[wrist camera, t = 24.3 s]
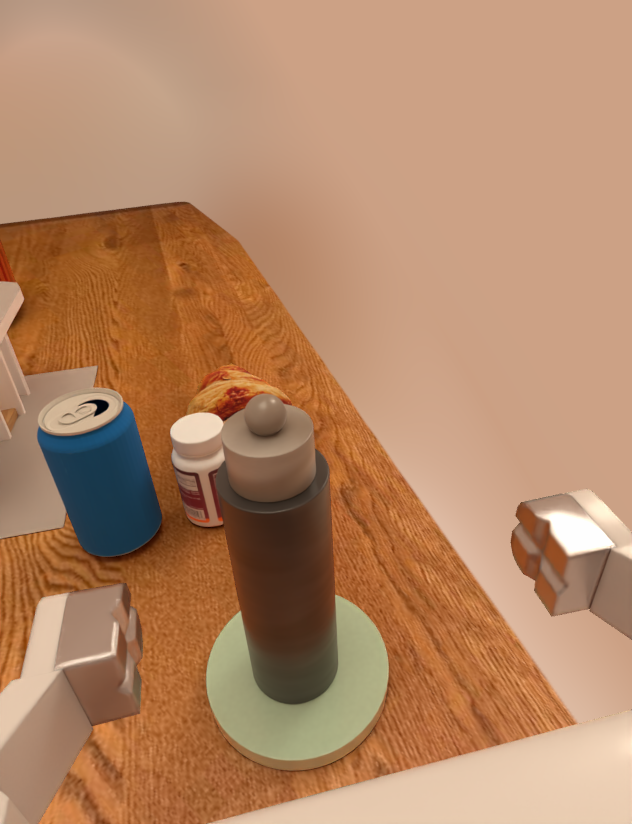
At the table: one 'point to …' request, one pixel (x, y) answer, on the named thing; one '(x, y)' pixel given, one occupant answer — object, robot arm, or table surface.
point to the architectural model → (27, 432)
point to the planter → (5, 268)
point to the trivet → (307, 722)
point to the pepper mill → (280, 547)
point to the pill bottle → (198, 465)
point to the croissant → (230, 392)
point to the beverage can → (100, 470)
